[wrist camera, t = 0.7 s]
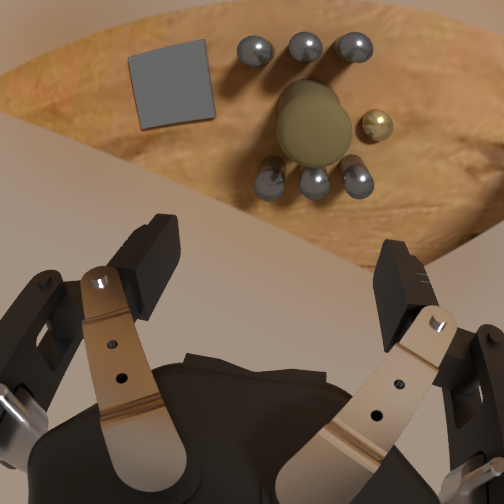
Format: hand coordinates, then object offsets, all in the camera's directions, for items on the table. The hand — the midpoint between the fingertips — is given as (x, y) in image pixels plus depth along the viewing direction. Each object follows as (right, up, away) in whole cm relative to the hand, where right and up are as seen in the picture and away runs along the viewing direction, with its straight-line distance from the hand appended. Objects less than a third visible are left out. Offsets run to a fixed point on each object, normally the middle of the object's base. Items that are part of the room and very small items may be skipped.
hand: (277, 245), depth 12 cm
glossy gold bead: (+11, +12, +16) cm, 23 cm away
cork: (+4, +13, +16) cm, 21 cm away
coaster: (-9, +16, +16) cm, 24 cm away
